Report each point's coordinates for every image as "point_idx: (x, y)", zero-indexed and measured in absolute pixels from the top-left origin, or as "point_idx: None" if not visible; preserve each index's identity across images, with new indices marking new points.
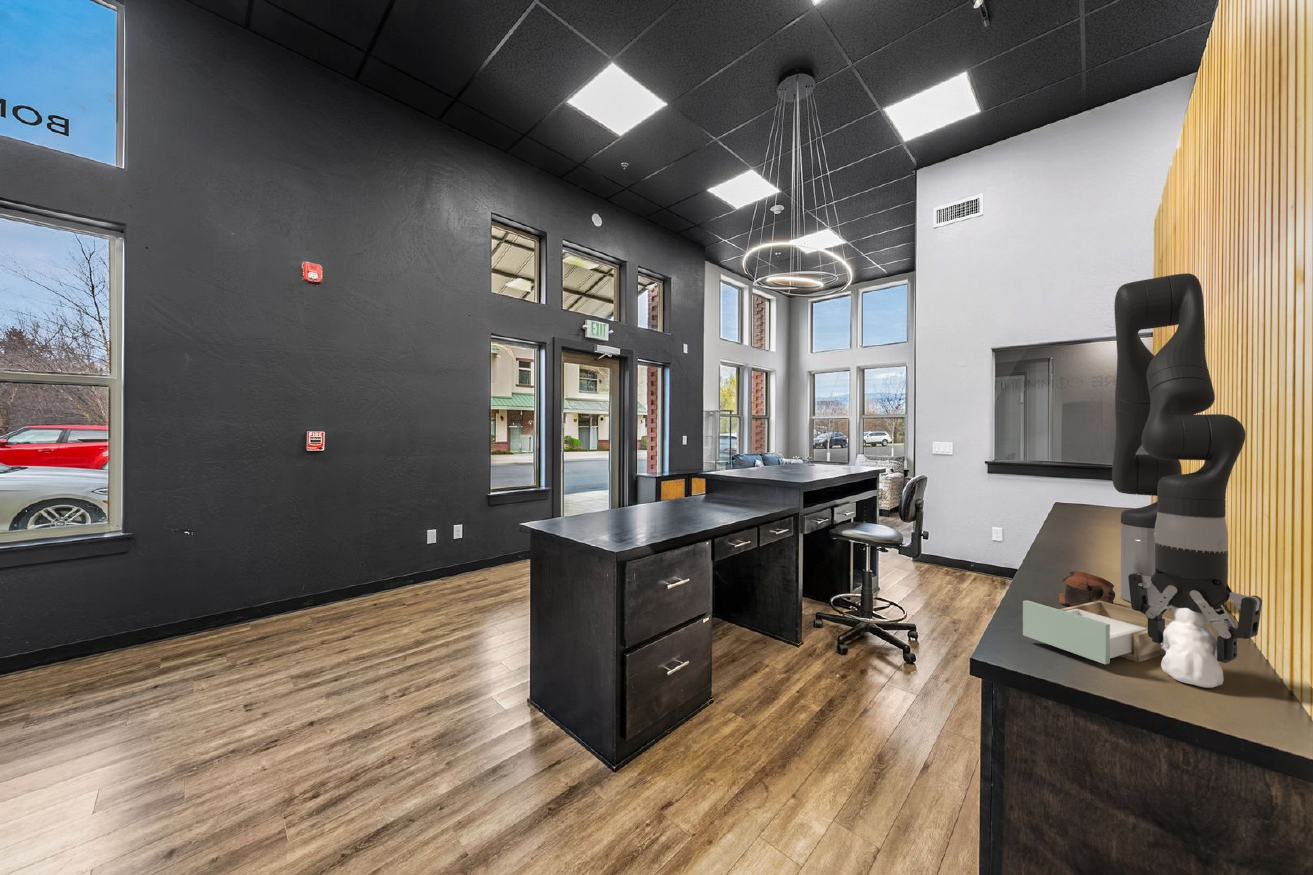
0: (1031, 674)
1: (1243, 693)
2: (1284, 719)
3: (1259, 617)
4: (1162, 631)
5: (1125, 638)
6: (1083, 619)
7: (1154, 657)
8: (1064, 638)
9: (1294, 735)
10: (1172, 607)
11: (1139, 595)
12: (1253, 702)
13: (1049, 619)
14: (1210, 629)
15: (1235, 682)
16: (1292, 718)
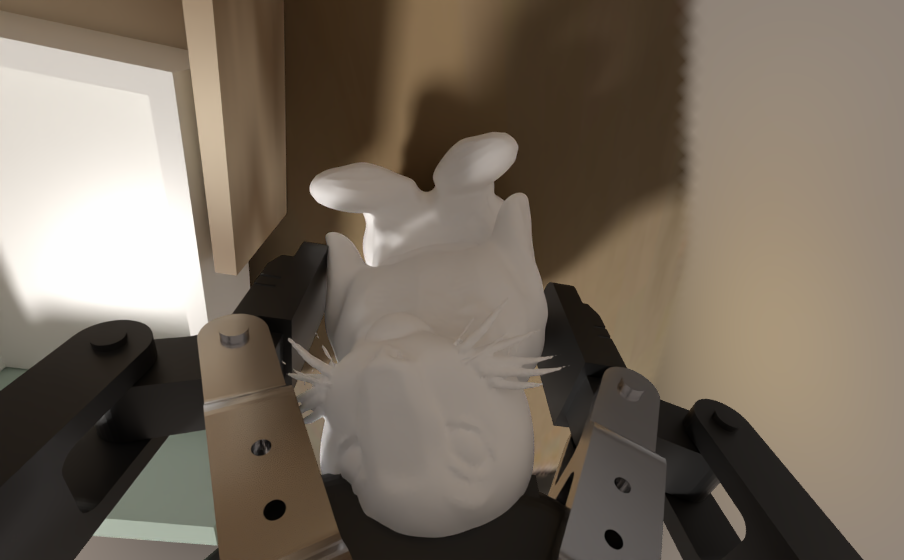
0: None
1: (572, 217)
2: (638, 328)
3: (850, 551)
4: (315, 297)
5: (216, 299)
6: (130, 535)
7: (284, 70)
8: None
9: None
10: (304, 406)
11: (85, 539)
12: (589, 273)
13: None
14: (525, 347)
15: (556, 111)
16: (658, 305)
